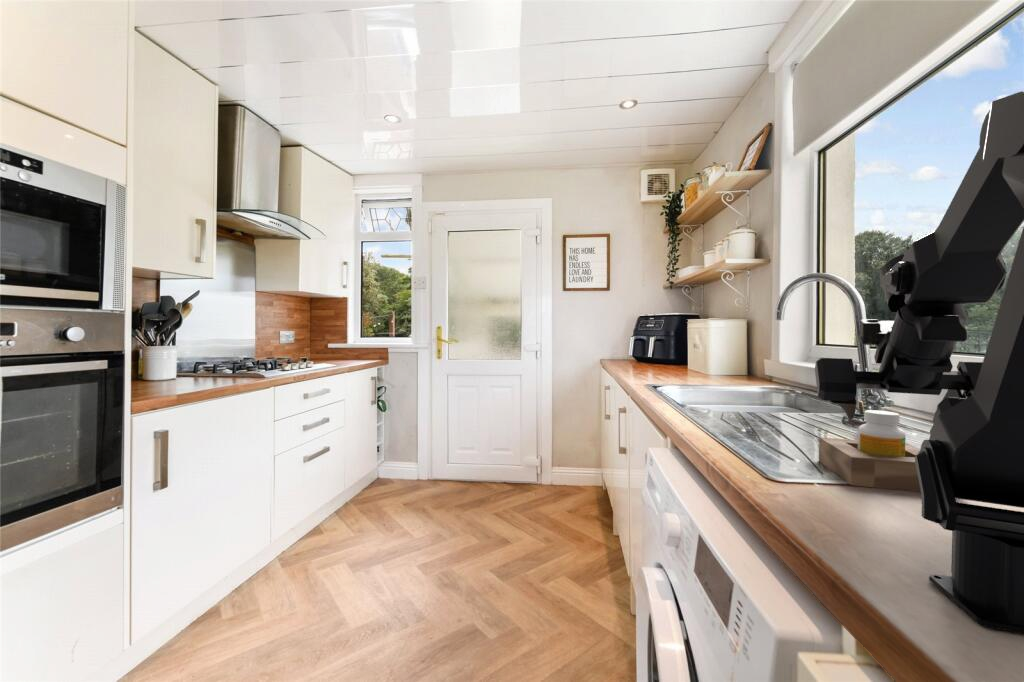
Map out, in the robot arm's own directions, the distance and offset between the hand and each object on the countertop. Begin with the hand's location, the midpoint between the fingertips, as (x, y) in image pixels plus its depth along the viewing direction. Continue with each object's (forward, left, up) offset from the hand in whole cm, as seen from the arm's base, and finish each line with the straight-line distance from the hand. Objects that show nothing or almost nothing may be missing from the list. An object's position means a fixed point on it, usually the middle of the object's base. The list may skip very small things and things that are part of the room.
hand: (891, 420), depth 60 cm
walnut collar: (+4, -1, -9) cm, 10 cm away
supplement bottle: (+4, -1, -9) cm, 10 cm away
